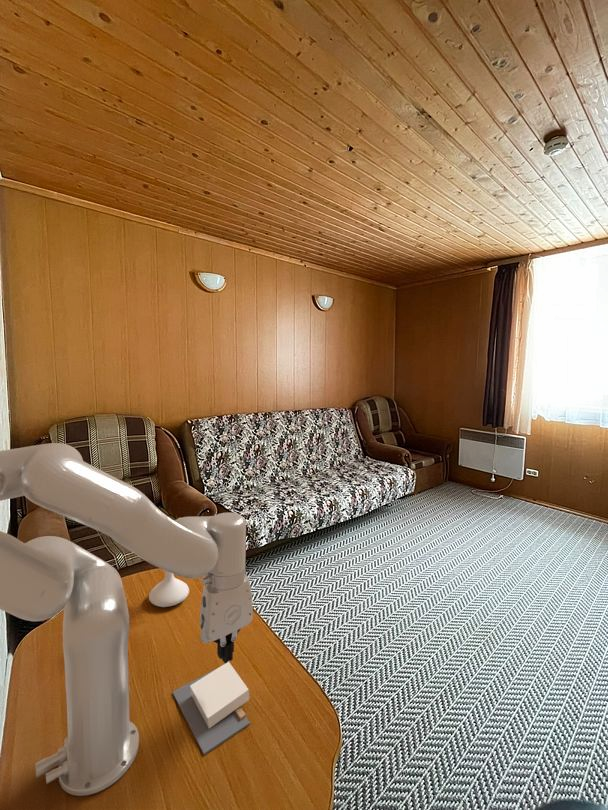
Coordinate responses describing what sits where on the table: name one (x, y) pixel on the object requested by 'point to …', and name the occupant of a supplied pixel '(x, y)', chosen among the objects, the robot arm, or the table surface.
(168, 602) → the flower in vase
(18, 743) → the table surface
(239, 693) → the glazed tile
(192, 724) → the charcoal mat
